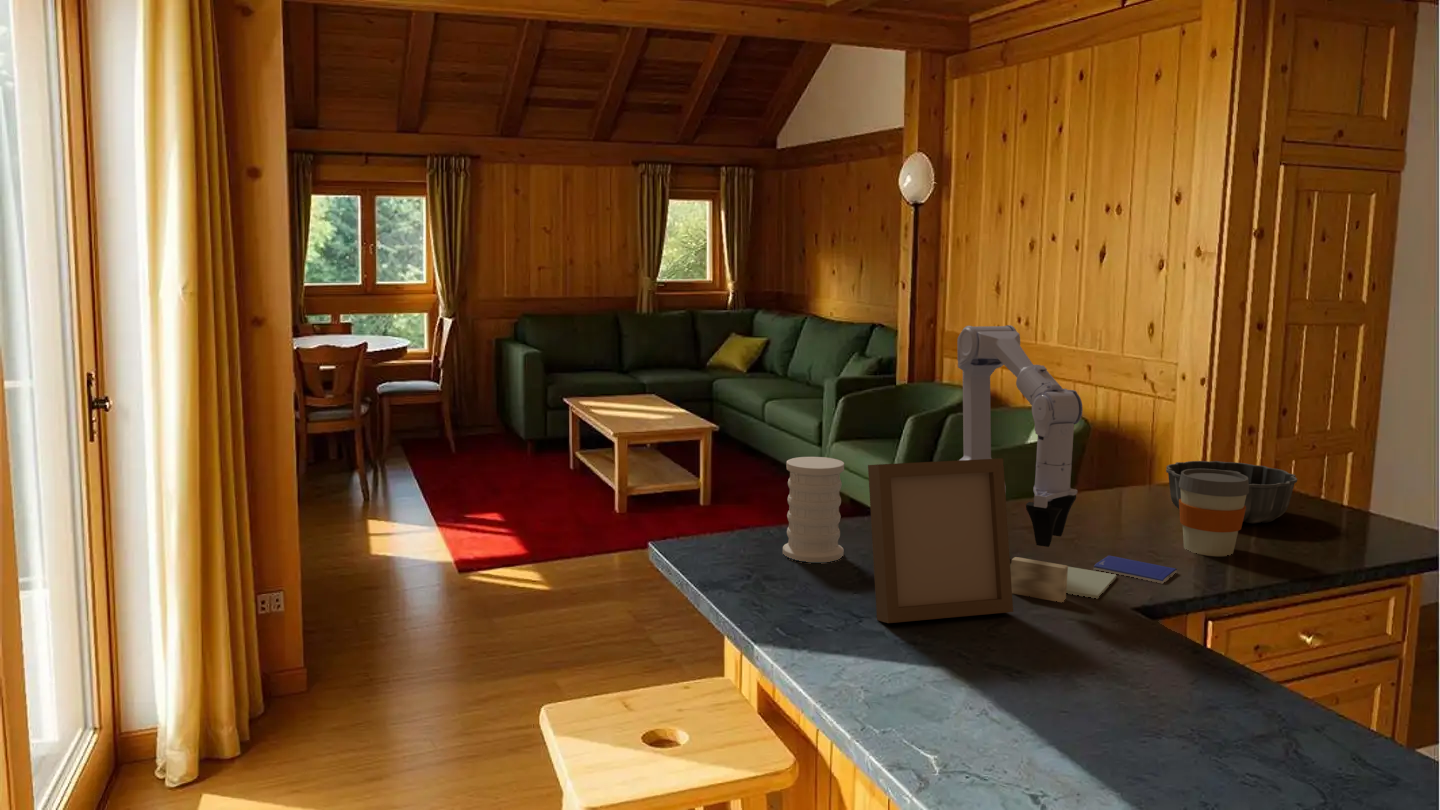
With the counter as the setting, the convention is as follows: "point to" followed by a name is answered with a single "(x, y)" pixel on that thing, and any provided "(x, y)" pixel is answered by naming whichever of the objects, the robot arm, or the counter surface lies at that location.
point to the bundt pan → (1265, 487)
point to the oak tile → (1039, 579)
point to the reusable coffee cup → (1212, 510)
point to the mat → (1087, 582)
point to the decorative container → (814, 509)
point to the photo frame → (940, 539)
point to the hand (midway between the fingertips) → (1049, 540)
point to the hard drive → (1135, 569)
